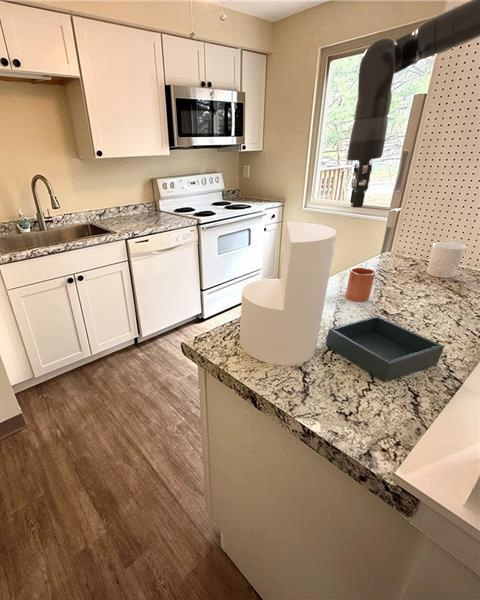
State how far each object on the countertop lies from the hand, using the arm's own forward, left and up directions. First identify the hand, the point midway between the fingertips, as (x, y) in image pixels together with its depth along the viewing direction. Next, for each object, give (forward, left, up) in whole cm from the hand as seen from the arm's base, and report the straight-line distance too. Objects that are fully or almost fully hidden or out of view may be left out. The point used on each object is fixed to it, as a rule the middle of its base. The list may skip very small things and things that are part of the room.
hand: (355, 204), depth 85 cm
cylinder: (+34, +14, -27) cm, 46 cm away
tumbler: (-3, +4, -27) cm, 28 cm away
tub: (+17, +27, -27) cm, 42 cm away
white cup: (-39, +3, -27) cm, 48 cm away
